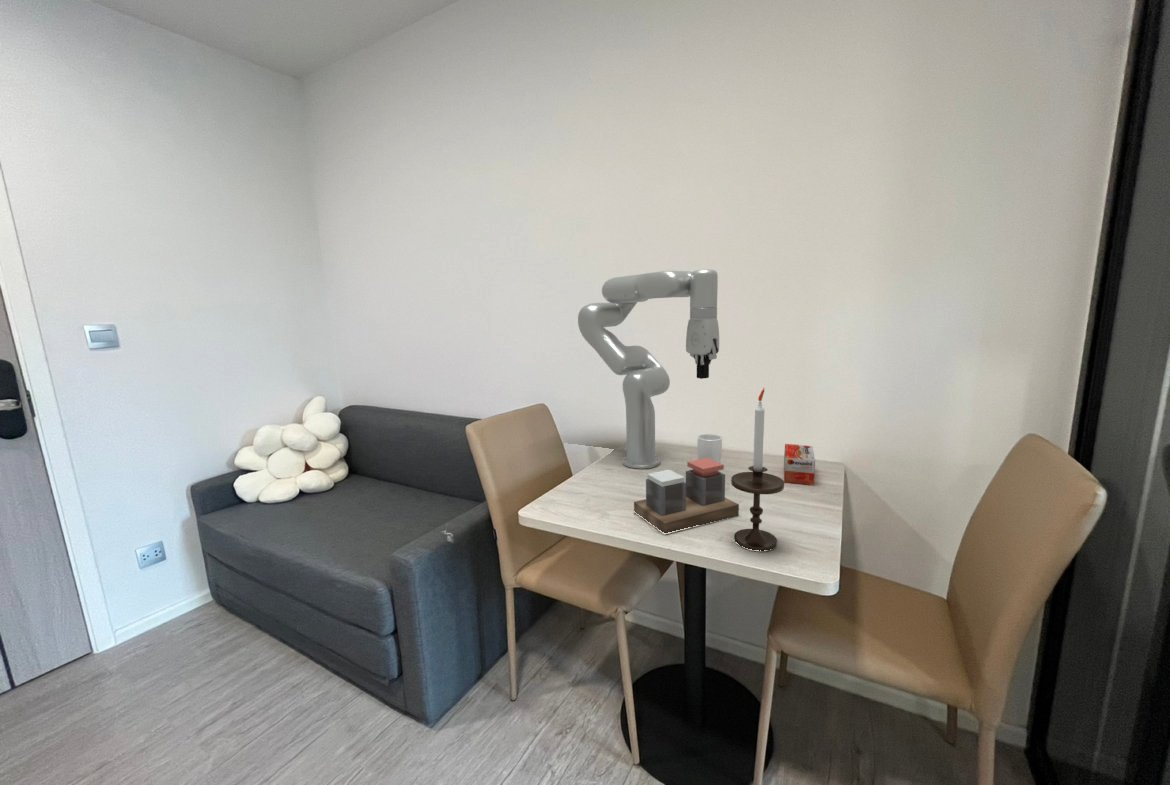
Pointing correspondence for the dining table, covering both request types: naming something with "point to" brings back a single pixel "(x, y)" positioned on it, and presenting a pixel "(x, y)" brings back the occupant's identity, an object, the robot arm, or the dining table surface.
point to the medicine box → (799, 464)
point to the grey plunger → (665, 478)
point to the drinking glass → (709, 447)
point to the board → (686, 503)
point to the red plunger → (705, 467)
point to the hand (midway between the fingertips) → (702, 377)
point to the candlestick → (757, 490)
